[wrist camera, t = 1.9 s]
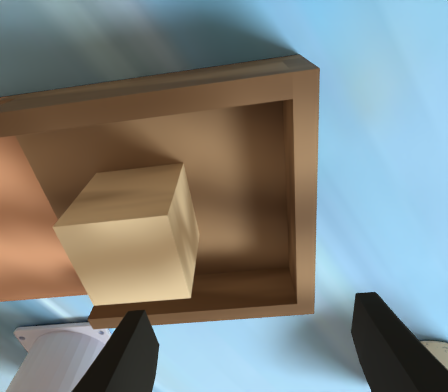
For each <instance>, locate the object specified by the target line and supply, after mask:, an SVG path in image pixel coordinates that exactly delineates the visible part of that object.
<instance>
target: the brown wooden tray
mask: <svg viewBox="0 0 448 392" xmlns="http://www.w3.org/2000/svg"><path fill="white" fill-rule="evenodd" d="M319 75H320V68H319V67H317V66H316V65H314V64H313V63H311V62H310V61H308V60H307V59H305V58H304V57H303V56H301V55H300V54H298V55H291V56H284V57H277V58H270V59H263V60H256V61H249V62H242V63H235V64H228V65H221V66H214V67H207V68H200V69H194V70H187V71H180V72H173V73H166V74H159V75H152V76H145V77H138V78H131V79H124V80H117V81H110V82H103V83H96V84H89V85H82V86H75V87H68V88H61V89H54V90H47V91H40V92H33V93H26V94H19V95H12V96H6V97H0V302H2V301H15V300H27V299H39V298H51V297H64V296H76V295H88V294H87V292H86V290H85V288H84V286H83V284H82V282H81V280H80V278H79V277H78V275H77V273H76V271H75V269H74V267H73V265H72V263H71V261H70V260H69V258H68V256H67V254H66V252H65V250H64V248H63V246H62V244H61V242H60V241H59V239H58V237H57V235H56V233H55V231H54V229H53V226H54V225H55V223H56V222H57V221H58V220H59V218H60V217H61V216H62V215H63V214H64V212H65V211H66V210H67V209H68V207H69V206H70V205H71V204H72V202H73V201H74V200H75V199H76V198H77V196H78V195H79V194H80V193H81V191H82V190H83V189H84V188H85V186H86V185H87V184H88V183H89V181H90V180H91V179H92V178H93V177H94V175H95V174H96V173H102V172H110V171H119V170H127V169H136V168H144V167H153V166H161V165H170V164H179V163H184V167H185V172H186V176H187V181H188V185H189V190H190V194H191V199H192V203H193V207H194V212H195V216H196V221H197V225H198V230H199V234H200V235H199V242H198V249H197V257H196V264H195V271H194V278H193V285H192V293H191V298H186V299H173V300H160V301H147V302H135V303H122V304H109V305H96V306H94V307H93V309H92V311H91V313H90V315H89V317H88V321H89V323H90V325H91V327H92V328H93V329H107V328H117V326H118V325H119V323H120V322H121V320H122V319H123V317H124V316H125V314H126V313H127V312H128V311H134V310H145V311H146V314H147V316H148V319H149V321H150V323H151V325H163V324H177V323H191V322H206V321H220V320H234V319H248V318H262V317H276V316H290V315H304V314H314V300H315V255H316V210H317V165H318V120H319Z"/></svg>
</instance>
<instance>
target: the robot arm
mask: <svg viewBox="0 0 448 392" xmlns="http://www.w3.org/2000/svg"><path fill="white" fill-rule="evenodd" d="M351 333H352V337H353V341H354V344H355V348H356V351H357V354H358V358H359V361H360V364H361V367H362V369H363V372H364V374H365V377H366V379H367V382H368V384H369V387H370V389H371V392H448V369H447V368H446V367H445V366H444V365H443V364H442V363H441V362H440V361H439V360H438V359H437V358H436V357H435V356H434V355H433V354H432V353H431V352H430V351H429V350H428V349H427V348H426V347H425V346H424V345H423V344H422V343H421V342H420V341H419V340H418V339H417V338H416V337H415V336H414V335H413V333H412V332H411V331H410V330H409V329H408V328H407V327H406V326H405V325H404V324H403V323H402V321H401V320H400V319H399V318H398V317H397V316H396V315H395V314H394V312H393V311H392V310H391V309H390V308H389V307H388V306H387V304H386V303H385V302H384V301H383V300H382V299H381V297H380V296H379V295H378V294H377V293H376V292H368V293H356V295H355V304H354V312H353V320H352V329H351ZM14 335H15V336H16V338H17V339H18V340H19V342H20V343H21V344H22V345H23V347H24V348H25V349H26V351H27V352H28V354H27V356H26V358H25V359H24V361H23V363H22V364H21V366H20V368H19V369H18V371H17V373H16V375H15V376H14V378H13V380H12V381H11V383H10V385H9V386H8V388H7V390H6V392H152V389H153V385H154V380H155V376H156V368H157V360H158V351H159V343H158V341H157V338H156V336H155V333H154V331H153V328H152V326H151V323H150V321H149V319H148V316H147V314H146V311H145V310H134V311H128V312H127V313H126V314H125V316H124V317H123V319H122V320H121V322H120V323H119V325H118V326H117V328H116V329H115V331H114V332H113V334H111V333H110V331H109V329H108V328H107V329H93V328H92V327H91V325H90V323H89V322H83V323H69V324H56V325H42V326H29V327H18V328H16V329H15V331H14Z"/></svg>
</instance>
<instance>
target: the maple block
mask: <svg viewBox="0 0 448 392" xmlns="http://www.w3.org/2000/svg"><path fill="white" fill-rule="evenodd" d="M53 229H54V231H55V233H56V235H57V237H58V239H59V241H60V242H61V244H62V246H63V248H64V250H65V252H66V254H67V256H68V258H69V260H70V261H71V263H72V265H73V267H74V269H75V271H76V273H77V275H78V277H79V278H80V280H81V282H82V284H83V286H84V288H85V290H86V292H87V294H88V295H89V297H90V299H91V301H92V303H93V305H94V306H96V305H109V304H122V303H135V302H147V301H160V300H173V299H186V298H191V293H192V285H193V278H194V271H195V264H196V257H197V249H198V242H199V235H200V234H199V230H198V225H197V221H196V216H195V212H194V207H193V203H192V199H191V194H190V190H189V185H188V181H187V176H186V172H185V167H184V163H179V164H170V165H161V166H153V167H144V168H136V169H127V170H119V171H110V172H102V173H96V174H95V175H94V177H93V178H92V179H91V180H90V181H89V183H88V184H87V185H86V186H85V188H84V189H83V190H82V191H81V193H80V194H79V195H78V196H77V198H76V199H75V200H74V201H73V202H72V204H71V205H70V206H69V207H68V209H67V210H66V211H65V212H64V214H63V215H62V216H61V217H60V218H59V220H58V221H57V222H56V223H55V225H54V226H53Z"/></svg>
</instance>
